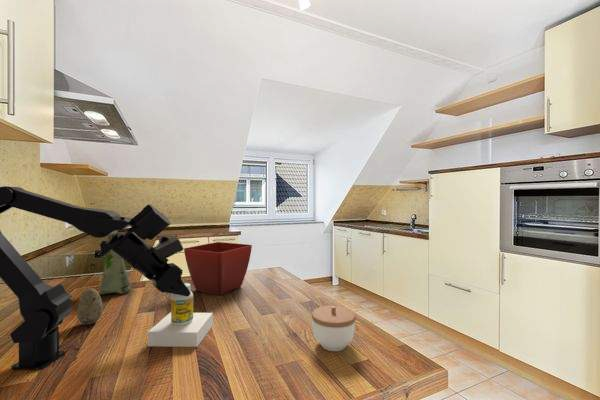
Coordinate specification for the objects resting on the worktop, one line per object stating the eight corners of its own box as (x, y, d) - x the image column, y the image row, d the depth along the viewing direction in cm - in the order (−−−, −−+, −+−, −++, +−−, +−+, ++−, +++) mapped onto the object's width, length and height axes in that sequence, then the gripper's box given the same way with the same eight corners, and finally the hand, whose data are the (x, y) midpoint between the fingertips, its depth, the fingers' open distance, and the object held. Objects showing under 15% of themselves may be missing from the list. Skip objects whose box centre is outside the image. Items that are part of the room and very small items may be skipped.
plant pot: (182, 291, 111) (182, 247, 111) (217, 279, 128) (218, 241, 128) (219, 300, 102) (220, 252, 102) (252, 286, 119) (253, 245, 119)
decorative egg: (72, 329, 79) (72, 292, 79) (82, 320, 84) (82, 286, 84) (97, 327, 80) (98, 290, 80) (105, 318, 86) (106, 284, 86)
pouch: (116, 298, 103) (116, 228, 103) (87, 296, 105) (87, 227, 105) (138, 288, 114) (138, 225, 114) (111, 287, 116) (111, 224, 116)
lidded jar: (320, 359, 65) (320, 317, 65) (306, 337, 75) (306, 301, 75) (363, 353, 68) (363, 313, 68) (344, 332, 78) (344, 297, 78)
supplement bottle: (190, 315, 80) (190, 281, 80) (195, 323, 75) (195, 286, 75) (169, 320, 77) (169, 283, 77) (172, 327, 72) (173, 289, 72)
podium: (197, 346, 70) (197, 332, 70) (147, 346, 70) (147, 331, 70) (212, 325, 82) (212, 312, 82) (170, 324, 82) (170, 312, 82)
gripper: (173, 230, 65) (219, 272, 72) (153, 224, 80) (193, 259, 87) (133, 270, 60) (186, 311, 67) (119, 256, 75) (164, 291, 82)
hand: (183, 290), depth 76 cm, fingers open, 9 cm apart
